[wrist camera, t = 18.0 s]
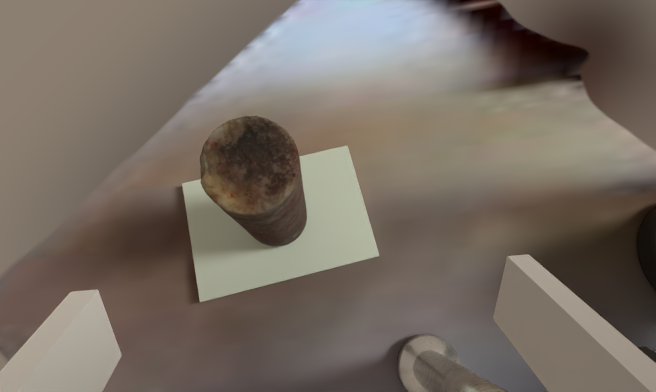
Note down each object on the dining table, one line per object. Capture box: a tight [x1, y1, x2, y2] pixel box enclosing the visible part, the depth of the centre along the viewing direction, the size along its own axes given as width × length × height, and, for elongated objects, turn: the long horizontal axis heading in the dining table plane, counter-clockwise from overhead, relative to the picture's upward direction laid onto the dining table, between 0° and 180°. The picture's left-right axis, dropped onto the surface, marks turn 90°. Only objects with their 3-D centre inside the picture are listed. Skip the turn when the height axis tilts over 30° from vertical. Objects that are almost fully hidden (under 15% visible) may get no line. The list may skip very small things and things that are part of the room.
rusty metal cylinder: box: [200, 116, 307, 247], centre depth 33 cm, size 8×7×20 cm
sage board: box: [182, 146, 379, 302], centre depth 43 cm, size 15×22×1 cm
